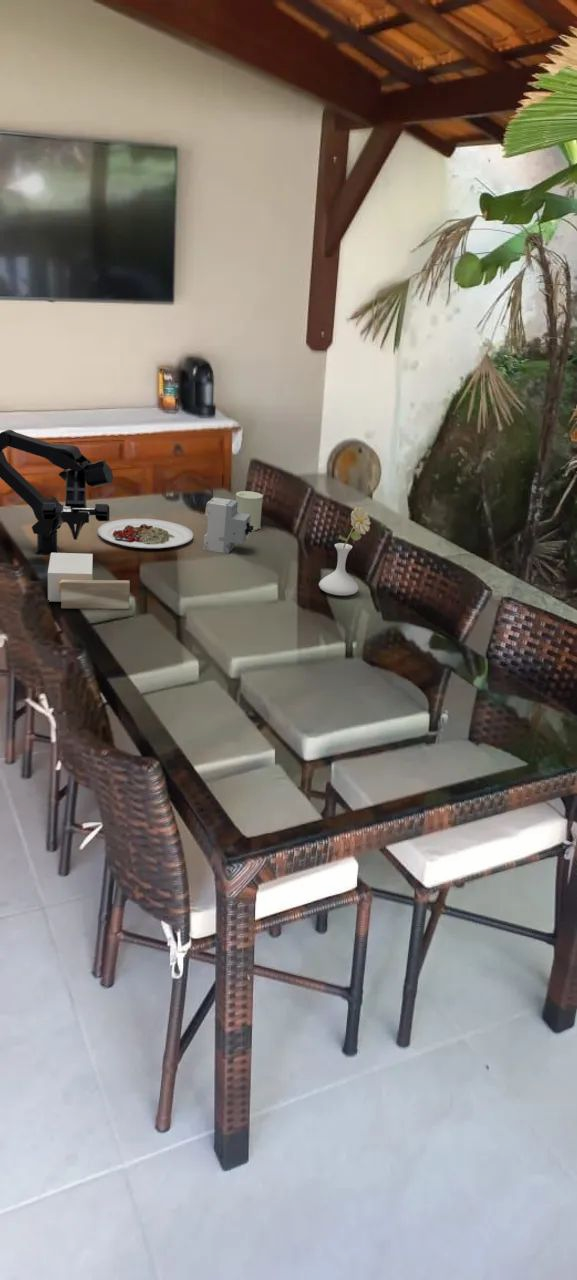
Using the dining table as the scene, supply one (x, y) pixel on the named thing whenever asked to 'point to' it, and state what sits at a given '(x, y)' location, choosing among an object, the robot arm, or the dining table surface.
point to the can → (250, 506)
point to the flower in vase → (339, 578)
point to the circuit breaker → (225, 525)
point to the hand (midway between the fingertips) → (75, 539)
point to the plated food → (145, 533)
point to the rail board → (95, 594)
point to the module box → (67, 571)
